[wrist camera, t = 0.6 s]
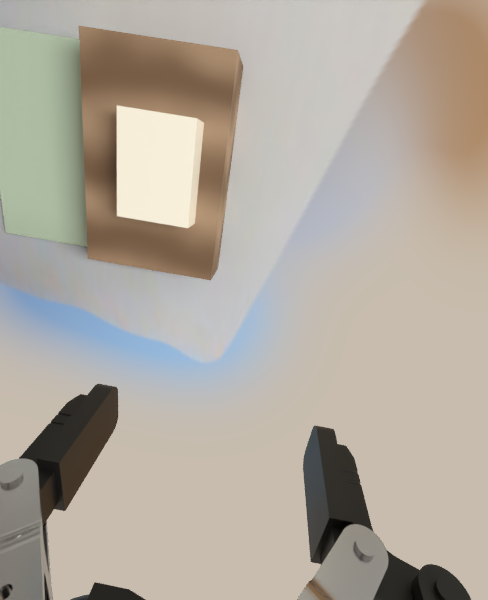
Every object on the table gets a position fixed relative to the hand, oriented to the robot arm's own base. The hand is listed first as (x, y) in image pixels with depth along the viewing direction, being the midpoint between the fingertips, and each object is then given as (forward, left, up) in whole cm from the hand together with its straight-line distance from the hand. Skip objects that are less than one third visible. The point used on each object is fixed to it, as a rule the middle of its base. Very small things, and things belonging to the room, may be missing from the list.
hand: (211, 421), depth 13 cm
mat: (-8, -21, -23) cm, 32 cm away
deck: (-8, -9, -23) cm, 26 cm away
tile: (-8, -8, -19) cm, 22 cm away
